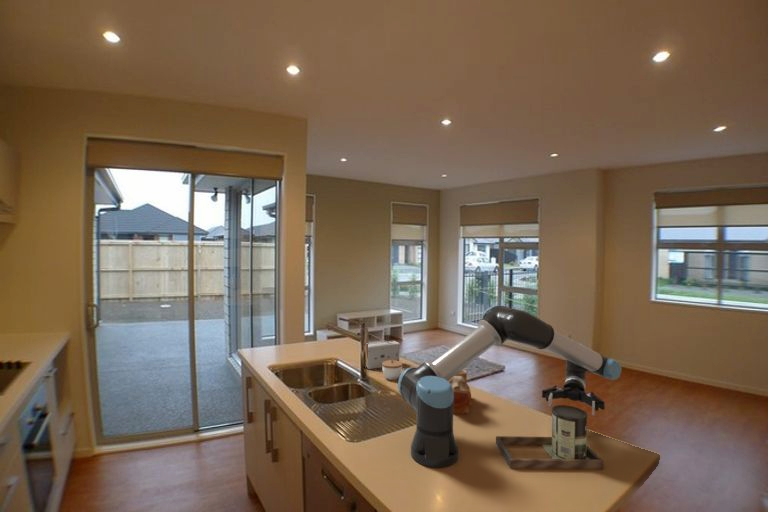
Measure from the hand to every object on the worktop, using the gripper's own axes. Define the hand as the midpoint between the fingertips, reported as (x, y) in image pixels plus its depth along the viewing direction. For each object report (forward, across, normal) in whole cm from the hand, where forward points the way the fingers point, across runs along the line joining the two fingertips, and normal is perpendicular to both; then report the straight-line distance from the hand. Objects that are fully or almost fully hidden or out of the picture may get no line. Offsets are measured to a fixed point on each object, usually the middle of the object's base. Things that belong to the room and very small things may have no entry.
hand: (570, 407), depth 128 cm
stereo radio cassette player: (-40, +99, -13) cm, 107 cm away
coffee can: (+10, 0, -12) cm, 16 cm away
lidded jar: (-25, +84, -13) cm, 89 cm away
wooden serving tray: (+14, +6, -12) cm, 19 cm away
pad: (+10, 0, -12) cm, 16 cm away
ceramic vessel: (-9, +45, -13) cm, 47 cm away
